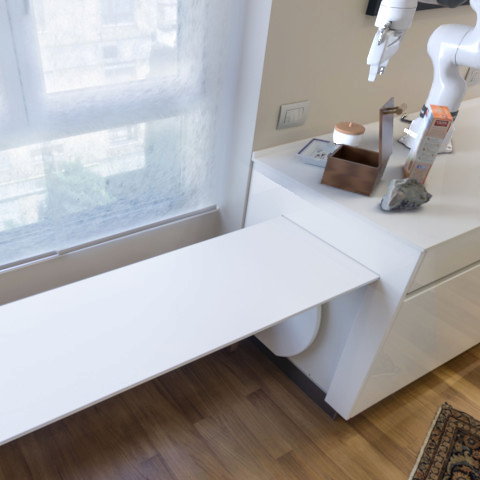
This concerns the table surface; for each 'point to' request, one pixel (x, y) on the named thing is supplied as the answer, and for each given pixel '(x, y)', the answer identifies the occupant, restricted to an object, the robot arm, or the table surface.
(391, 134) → the lid
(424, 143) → the cracker box
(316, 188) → the table surface
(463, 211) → the table surface
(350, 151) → the chest
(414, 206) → the mineral rock
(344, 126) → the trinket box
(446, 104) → the robot arm
